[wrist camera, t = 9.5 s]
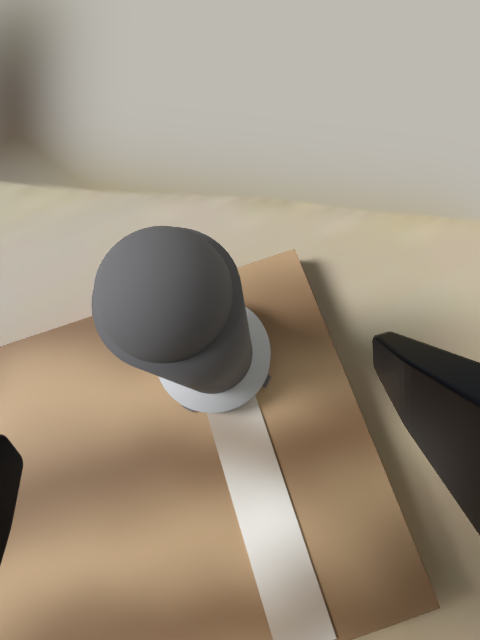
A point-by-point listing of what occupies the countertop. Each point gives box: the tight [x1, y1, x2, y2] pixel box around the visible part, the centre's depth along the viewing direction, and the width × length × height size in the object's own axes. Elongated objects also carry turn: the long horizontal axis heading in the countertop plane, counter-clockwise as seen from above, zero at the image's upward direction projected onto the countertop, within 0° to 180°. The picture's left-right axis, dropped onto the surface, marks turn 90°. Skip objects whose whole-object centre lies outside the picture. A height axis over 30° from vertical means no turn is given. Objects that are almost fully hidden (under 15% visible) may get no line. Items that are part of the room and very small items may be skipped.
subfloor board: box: [0, 249, 440, 640], centre depth 17 cm, size 16×23×2 cm
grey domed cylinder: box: [92, 226, 271, 413], centre depth 12 cm, size 5×5×11 cm
